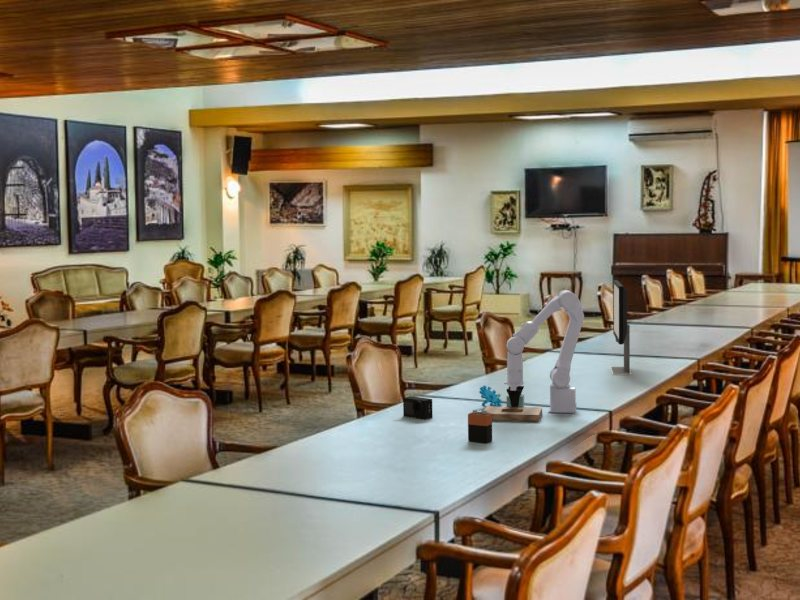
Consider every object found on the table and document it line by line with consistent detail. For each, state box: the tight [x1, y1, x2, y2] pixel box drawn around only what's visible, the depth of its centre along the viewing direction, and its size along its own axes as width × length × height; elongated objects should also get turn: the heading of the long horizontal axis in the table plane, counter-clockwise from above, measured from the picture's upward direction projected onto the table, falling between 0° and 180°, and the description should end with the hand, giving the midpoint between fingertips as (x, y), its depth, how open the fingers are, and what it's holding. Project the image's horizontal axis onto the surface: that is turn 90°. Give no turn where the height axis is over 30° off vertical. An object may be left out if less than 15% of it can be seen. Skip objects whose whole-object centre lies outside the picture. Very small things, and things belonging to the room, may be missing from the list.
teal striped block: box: [506, 394, 525, 407], centre depth 385 cm, size 6×4×6 cm, turn 78°
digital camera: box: [402, 395, 433, 420], centre depth 378 cm, size 10×5×7 cm, turn 48°
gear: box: [478, 385, 503, 407], centre depth 398 cm, size 11×6×10 cm
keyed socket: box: [484, 405, 543, 423], centre depth 375 cm, size 20×14×2 cm
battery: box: [467, 409, 493, 444], centre depth 337 cm, size 4×7×10 cm, turn 58°
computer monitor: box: [609, 279, 632, 376], centre depth 474 cm, size 41×8×40 cm, turn 172°
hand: (515, 407), depth 385 cm, fingers closed on teal striped block, 4 cm apart
